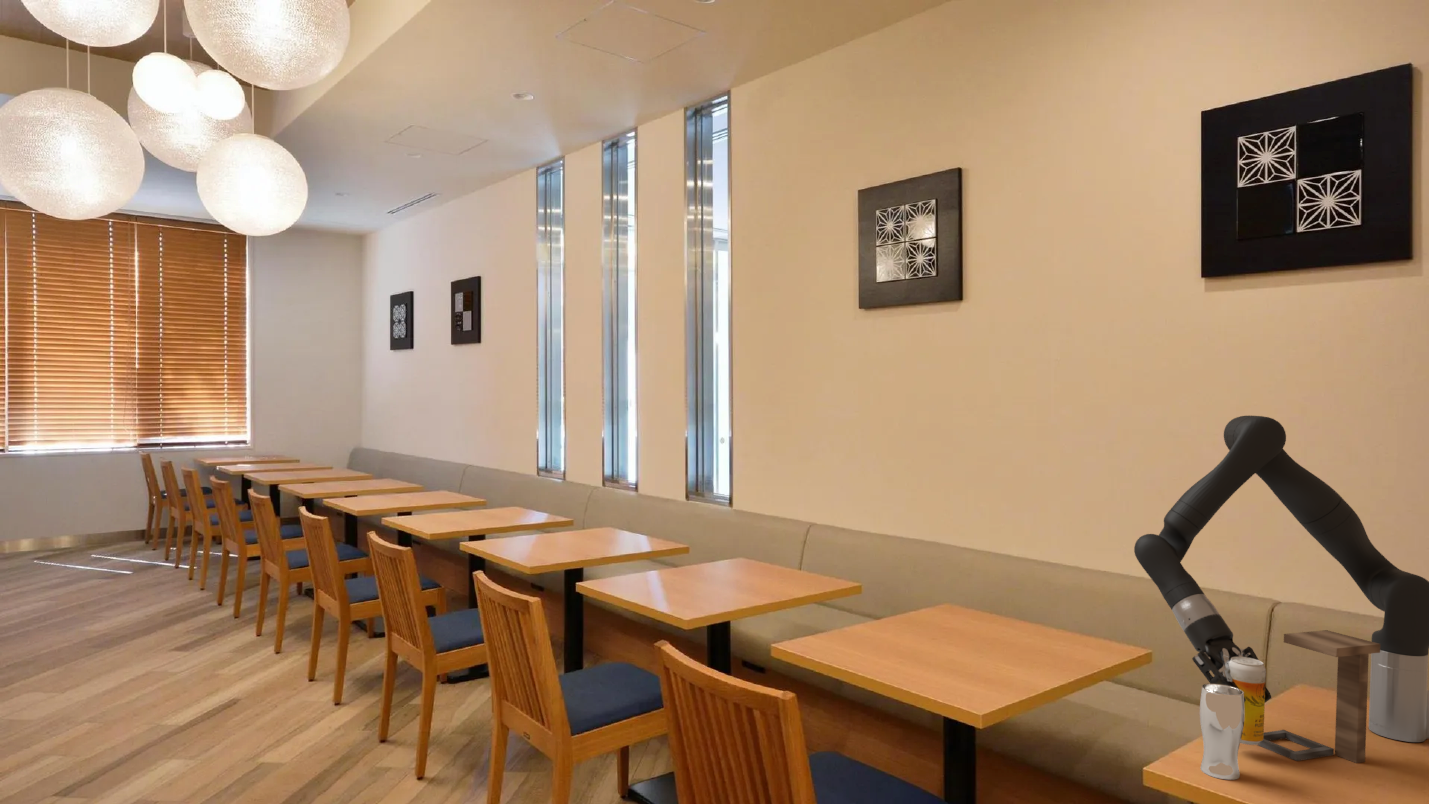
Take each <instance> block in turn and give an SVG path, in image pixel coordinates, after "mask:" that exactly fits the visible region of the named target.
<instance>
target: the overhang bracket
mask: <svg viewBox="0 0 1429 804" xmlns="http://www.w3.org/2000/svg"><path fill="white" fill-rule="evenodd" d="M1283 643H1284V644H1288V645H1291V646H1295V647H1298V648H1303V649H1306V650H1310V651H1313V652H1316V653H1320V654H1324V655H1328V656H1331V657H1335V658H1337V671H1336V672H1337V675H1336V680H1337V681H1336V704H1335V706H1336V707H1335V709H1336V710H1335V734H1334V748H1333V747H1331V746H1328V745H1325V744H1323V743H1320V742H1317V741H1315V740H1312V739H1309V738H1307V737H1304V736H1301V735H1300V734H1296V733H1293V732H1292V731H1291V732H1290V731H1288V730H1287V729H1286V730H1285V729H1279V730H1272V731H1267V732H1265V731H1264V736H1263V740H1262V741H1261V742H1260V744H1258V745H1257V746H1259V747H1261V748H1264V749H1266V750H1268V751H1271V752H1273V753H1276V754H1278V755H1280V756H1283V757H1285V758H1288V759H1291V760H1293V761H1296V762H1299V761H1303V760H1304V761H1306V760H1311V759H1317V758H1318V759H1319V758H1323V757H1324V758H1325V757H1329V756H1334V755H1335V756H1337V757H1339V758H1341V759H1345V760H1347V761H1350V762H1353V763H1354V764H1359V763H1364V762H1366V744H1367V743H1366V742H1367V741H1366V740H1367V714H1368V712H1367V711H1368V685H1369V683H1368V682H1369V659H1370V658H1369V655H1371V653H1380V644H1379V643H1375V642H1372V640H1367V639H1363V638H1359V637H1355V636H1350V635H1348V634H1343V633H1339V632H1334V631H1331V630H1327V629H1326V630H1313V631H1302V632H1301V631H1300V632H1291V633H1284V634H1283ZM1283 739H1285V740H1288V741H1290V742H1292V743H1295V744H1298V745H1301V746H1303V747H1306V748H1307V749H1302V750H1292V749H1290V748H1287V747H1285V746H1283V745H1280V744H1277V743H1275V742H1273V741H1276V740H1277V741H1278V740H1283ZM1308 748H1309V749H1308Z"/></svg>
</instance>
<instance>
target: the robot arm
mask: <svg viewBox="0 0 1429 804" xmlns="http://www.w3.org/2000/svg"><path fill="white" fill-rule="evenodd" d="M1223 441H1224V445H1225V446H1226V447H1227V450H1229V451H1228V452H1227V454H1226V455H1225V456H1224V457H1223V459H1222V460H1221V461H1220V462H1219V463H1218V464H1217V465H1216V466H1215V467H1214V468H1213V469H1212V470H1211V471H1210V472H1208V473H1207V474H1205V476H1203V477H1202V478H1200V479H1199V480H1198V481H1196V482H1195V483H1193V485H1192V486H1191V487H1189V488H1188V489H1187V490H1186V491H1185V492H1184V493H1183V494H1182V495H1181V496H1180V498H1178V499H1177V500H1176V502H1175V503H1174V504H1173V505H1172V507H1171V508H1170V509H1169V510H1168V511H1167V513H1166V515H1164V518H1163V528H1162V529H1161V531H1160V533H1159V534H1154V533H1146V534H1144V535H1141V536H1139V537H1138V538H1137V540H1136V541H1135V543H1134V549H1133V551H1134V556H1135V558H1136V560H1137V561H1138V563H1139V564H1140V566H1141V567H1142V569H1144V571H1145V573H1146V574H1147V575H1148V577H1150V579H1151V580H1152V582H1154V585H1156V587H1157V589H1158V590H1159V592H1160V593H1161V596H1162V597H1163V599H1164V600H1165V602H1166V603H1167V606H1169V608H1170V609H1171V612H1172V613H1173V615H1174V617H1175V619H1176V621H1177V622H1178V625H1179V626H1180V628H1181V630H1182V631H1183V632H1184V634H1185V635H1186V637H1187V638H1188V640H1189V642H1190V643H1191V645H1192V646H1193V648H1194V649H1195V651H1196V652H1198V653H1197V654H1195V655H1194V656H1193V657H1192V658H1191V659H1192V660H1191V661H1193V663H1194V664H1195V665H1196V667H1197V668H1198V669H1199V670H1200V672H1201V673H1202V674H1203V676H1204V677H1205V679H1206V680H1207V682H1208V683H1209V684H1222V685H1228V686H1232V687H1235V688H1238V687H1237V686H1236V684H1235V683H1234V682H1232V681H1233V680H1232V677H1231V675H1230V668H1229V662H1230V660H1231V658H1232V657H1247V658H1253V659H1256V660H1259V658H1258V656H1257V654H1256V653H1255V651H1254V650H1253V648H1252V647H1251V646H1247V647H1245V648H1240V647H1239V646H1238V645H1237V644H1236V643H1235V642H1234V640H1233V639H1234V633H1233V631H1232V629H1231V628H1230V627H1229V626H1228V624H1227V622H1226V621H1225V620H1224V617H1223V616H1222V615H1221V614H1220V612H1219V611H1218V609H1217V608H1216V606H1215V605H1214V604H1213V603H1212V602H1211V600H1210V599H1209V598H1208V597H1207V596H1206V594H1205V593H1204V591H1203V590H1202V589H1201V587H1200V585H1199V584H1198V583H1197V581H1196V580H1195V579H1194V578H1193V576H1192V575H1191V574H1190V573H1189V572H1188V571H1187V570H1186V569H1185V568H1184V566H1183V564H1182V563H1181V562H1182V561H1183V559H1184V557H1185V556H1186V554H1187V553H1188V551H1189V549H1190V548H1191V545H1192V543H1193V541H1194V540H1195V538H1196V537H1197V535H1199V533H1200V532H1201V531H1202V530H1203V529H1204V527H1206V526H1207V524H1208V523H1209V522H1210V520H1211V519H1212V518H1213V517H1214V516H1215V515H1216V513H1217V512H1218V511H1219V510H1220V509H1221V507H1223V506H1224V504H1225V503H1226V502H1227V501H1228V500H1229V499H1230V498H1231V497H1232V496H1233V495H1234V494H1235V493H1236V492H1237V491H1238V490H1239V489H1241V487H1242V486H1243V485H1245V483H1246V482H1248V480H1249V479H1251V478H1252V477H1253V476H1254V475H1257V476H1258V477H1259V479H1261V481H1263V482H1264V483H1265V484H1266V486H1268V488H1269V489H1270V490H1271V491H1272V493H1273V494H1274V495H1275V497H1277V499H1278V500H1279V501H1280V502H1281V504H1282V505H1284V507H1285V508H1286V509H1287V510H1288V511H1289V513H1291V514H1292V516H1294V517H1293V518H1295V520H1297V522H1298V523H1299V524H1300V525H1301V526H1302V527H1303V528H1304V529H1305V530H1306V531H1307V533H1308V534H1310V536H1311V537H1313V538H1314V539H1315V540H1316V541H1317V543H1318V544H1319V545H1320V546H1321V547H1323V548H1324V550H1325V551H1326V552H1328V554H1329V555H1331V556H1332V558H1334V559H1335V560H1336V561H1337V562H1338V563H1339V564H1340V565H1341V566H1342V567H1343V568H1344V569H1345V571H1346V572H1347V573H1348V575H1349V576H1350V577H1351V578H1352V580H1353V581H1354V582H1355V584H1356V585H1357V587H1358V588H1359V590H1361V591H1362V593H1363V595H1364V596H1365V597H1366V598H1367V600H1368V601H1369V602H1370V603H1371V604H1372V605H1373V606H1374V607H1376V608H1377V609H1379V610H1380V611H1383V612H1384V615H1383V616H1384V617H1383V625H1382V628H1381V629H1379V630H1374V632H1372V634H1371V642H1375V643H1379V644H1380V653H1371V654H1370V677H1369V679H1370V681H1369V682H1370V683H1369V684H1370V685H1369V707H1368V708H1369V709H1368V710H1369V711H1368V729H1369V731H1371V732H1372V733H1373V734H1376V735H1378V736H1381V737H1385V738H1388V739H1392V740H1395V741H1403V742H1409V743H1421V742H1422V743H1423V742H1425V741H1426V740H1427V739H1429V689H1428V681H1429V680H1428V679H1429V678H1428V677H1429V676H1428V675H1429V671H1428V670H1429V669H1428V668H1429V580H1427V579H1426V578H1425V577H1422V576H1420V575H1418V574H1414V573H1410V572H1408V571H1404V570H1402V569H1400V568H1398V566H1395V565H1394V564H1393V563H1392V562H1391V561H1389V560H1388V558H1386V557H1385V555H1383V554H1382V553H1381V552H1380V551H1379V550H1378V549H1377V548H1376V546H1374V544H1373V543H1372V542H1371V540H1370V539H1369V536H1368V534H1367V531H1366V529H1365V527H1364V524H1363V523H1362V521H1361V518H1360V517H1359V516H1358V514H1357V513H1356V511H1355V510H1354V509H1353V508H1352V507H1351V506H1350V505H1349V503H1348V502H1347V501H1346V500H1345V499H1344V498H1343V497H1342V496H1341V495H1340V494H1339V493H1338V492H1337V491H1336V490H1335V489H1333V487H1331V486H1330V485H1329V484H1328V483H1327V482H1325V481H1324V480H1322V479H1321V478H1320V477H1319V476H1316V475H1315V474H1313V473H1312V472H1310V471H1309V470H1307V468H1304V467H1303V466H1302V465H1300V464H1299V463H1298V462H1297V461H1295V460H1294V459H1293V458H1292V457H1291V456H1290V455H1289V454H1288V453H1287V451H1286V450H1285V449H1284V447H1285V445H1286V441H1287V434H1286V430H1285V428H1284V426H1283V425H1282V424H1281V423H1280V421H1278V420H1276V419H1274V418H1272V417H1269V416H1263V415H1241V416H1236V417H1234V418H1233V419H1231V420H1229V421H1228V422H1227V423H1226V425H1225V426H1224V430H1223ZM1211 673H1212V674H1213V675H1212V674H1211ZM1238 689H1239V688H1238ZM1271 699H1272V695H1271V693H1270V691H1269V689H1268V688H1267V686H1266V685H1265V703H1266V702H1267V701H1268V702H1269V700H1271ZM1245 701H1246V699H1245V697H1244V702H1245Z"/></svg>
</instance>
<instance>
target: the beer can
mask: <svg viewBox="0 0 1429 804" xmlns="http://www.w3.org/2000/svg"><path fill="white" fill-rule="evenodd" d="M1229 668H1230V675H1231V677H1232V680H1233V681H1232V682H1234V683H1235V684H1236V686H1237V687H1238V688H1239V689H1240V690H1242V691H1243V692H1244V697H1245V699H1246V701H1245V702H1244V707H1245V718H1244V727H1243V733H1242V737H1241V741H1240V744H1242V745H1247V746H1248V745H1249V746H1259V745H1258V744H1260V742H1261V741H1262V740H1263V736H1264V732H1265V731H1264V729H1265V706H1266V705H1265V703H1266V702H1265V686H1266V679H1267V669H1266V666H1265V664H1264V662H1263V661H1262V660H1259V659H1258V660H1256V659H1253V658H1247V657H1232V658H1231V660H1230V662H1229Z"/></svg>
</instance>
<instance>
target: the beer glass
mask: <svg viewBox="0 0 1429 804" xmlns="http://www.w3.org/2000/svg"><path fill="white" fill-rule="evenodd" d="M1199 701H1200V703H1199V722H1200V723H1199V724H1200V727H1201V729H1200V730H1201V736H1202V741H1203V743H1202V744H1203V755H1202V760H1201V764H1200V771H1201V772H1202V773H1204V774H1205V775H1207V776H1209V777H1212V778H1215V779H1220V780H1227V781H1233V780H1238V779H1239V778H1240V775H1241V774H1240V768H1239V760H1238V759H1239V758H1238V757H1239V749H1240V745H1241V743H1240V741H1241V737H1242V733H1243V727H1244V718H1245V707H1244V692H1243V691H1242V690H1240V689H1238V688H1235V687H1232V686H1228V685H1222V684H1210V683H1205V684H1204V683H1203V684H1202V685H1201V694H1200V700H1199Z"/></svg>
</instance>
